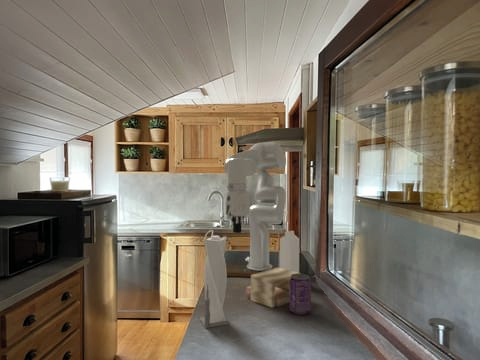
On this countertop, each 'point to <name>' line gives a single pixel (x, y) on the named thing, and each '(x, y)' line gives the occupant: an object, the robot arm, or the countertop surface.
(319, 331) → the countertop surface
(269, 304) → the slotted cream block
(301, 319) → the countertop surface
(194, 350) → the countertop surface
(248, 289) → the tile
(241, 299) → the countertop surface
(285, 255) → the milk
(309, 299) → the beverage can
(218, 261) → the skyscraper
